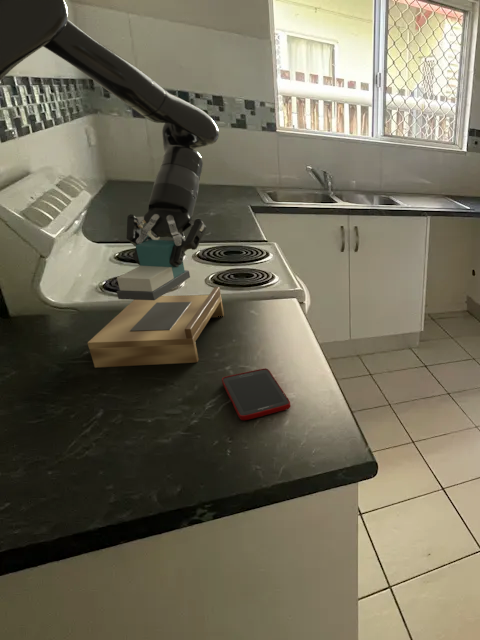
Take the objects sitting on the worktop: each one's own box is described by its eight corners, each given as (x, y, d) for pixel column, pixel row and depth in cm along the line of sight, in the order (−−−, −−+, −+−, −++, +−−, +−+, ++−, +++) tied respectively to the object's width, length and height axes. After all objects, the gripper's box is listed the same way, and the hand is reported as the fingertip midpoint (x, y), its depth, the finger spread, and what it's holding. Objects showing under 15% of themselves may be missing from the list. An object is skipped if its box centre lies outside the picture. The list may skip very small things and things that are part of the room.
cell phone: (267, 371, 89) (267, 367, 88) (292, 408, 79) (292, 403, 78) (221, 382, 84) (220, 377, 84) (241, 422, 74) (240, 417, 74)
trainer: (154, 300, 87) (144, 258, 84) (118, 299, 86) (107, 256, 83) (190, 277, 100) (183, 239, 97) (159, 275, 99) (150, 238, 96)
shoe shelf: (94, 367, 85) (84, 332, 82) (143, 317, 106) (135, 287, 103) (197, 362, 90) (190, 328, 87) (224, 315, 110) (219, 286, 108)
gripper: (126, 178, 94) (104, 253, 88) (204, 184, 96) (187, 257, 91) (147, 201, 101) (127, 271, 95) (219, 206, 103) (204, 275, 98)
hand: (157, 264), depth 93 cm, fingers closed on trainer, 5 cm apart
